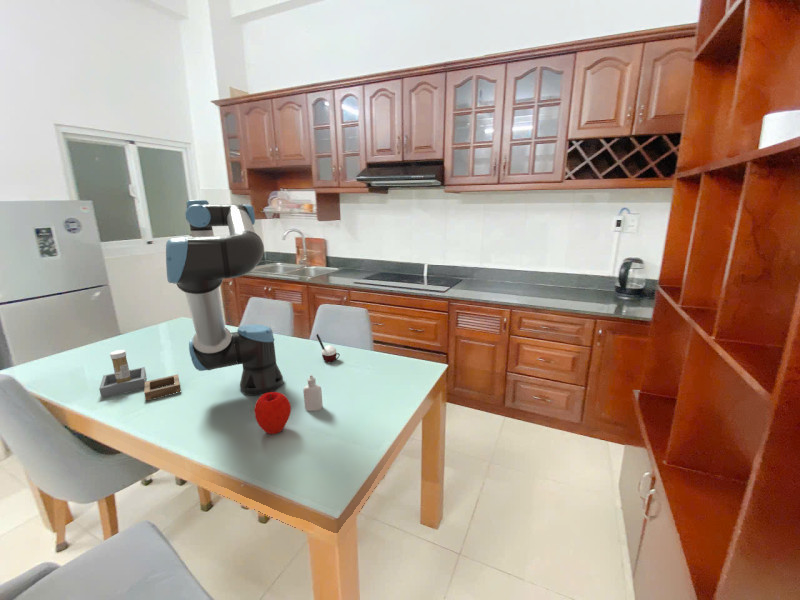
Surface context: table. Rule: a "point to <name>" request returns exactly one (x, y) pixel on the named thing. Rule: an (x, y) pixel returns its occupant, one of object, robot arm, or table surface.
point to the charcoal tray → (112, 388)
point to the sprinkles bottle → (120, 366)
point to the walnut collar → (163, 390)
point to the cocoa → (328, 352)
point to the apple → (272, 412)
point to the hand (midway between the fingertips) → (211, 295)
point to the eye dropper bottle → (312, 395)
